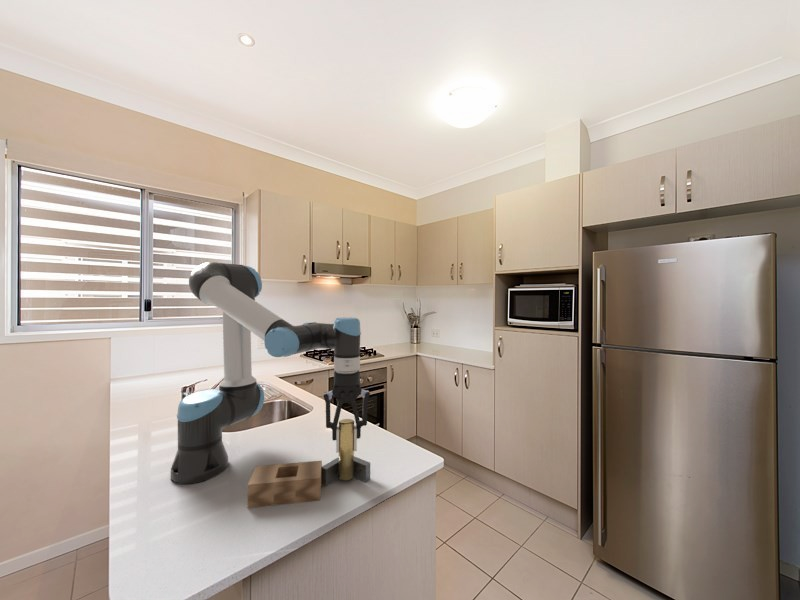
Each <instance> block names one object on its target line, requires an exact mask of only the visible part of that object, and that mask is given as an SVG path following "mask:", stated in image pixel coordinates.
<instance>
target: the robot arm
mask: <svg viewBox="0 0 800 600" xmlns="http://www.w3.org/2000/svg"><path fill="white" fill-rule="evenodd" d="M188 286H189V289H190V291H191V293H192V294H193V295H194V297H196V298H197V299H198V300H199V301H201V302H202V303H203V304H205V305H208V306H209V305H211V306H214V307H216V308H217V309H218V310H220V311H221V312H222V335H223V336H222V339H223V342H222V343H223V380H221V381H220V382H219V384H218V388H219V389H215V388H213V389H212V388H211V389H205V390H198V391H196V392H195V391H194V392H193V393H190V394H188V395H186V396H185V397H183V398H182V399H181V400H180V401H179V403H178V406H177V407H178V408H177V415H176V418H177V451H176V454H175V457H174V460H173V463H172V464H171V468H170V480H171V479H172V480H173V481H174V483H175V482H177V483H176V484H179V483H181V485H189V484H190V485H191V484H196V483H201V482H204V481H208V480H211V479H213V478H215V477H217V476H219V475H220V474H222V473H223V472H224V471H226V469H227V468H228V466H229V455H228V452H227V450H226V448H225V445H224V443H223V429H226V428H227V427H231V426H233V425H234V424H236V423H237V424H238V423H239V422H242V421H245V420H249V419H250V418H251V417H253V416H255V415H257V414H258V413H259V412H260V411H261V410H262V408H263V405H264V402H265V392H264V389H262V386H261V384H259V383H258V382H257V378H256V377H254V376H253V375H252V333H253V334H254V335H255V336H257V337H259V338H260V339H261V340H262V341H263V342H264V348H265V349H266V351H267V353H268V354H269V355H270V356H272V357H273V358H285V357H289V356H293V355H296V354H301V353H305V352H309V351H314V350H318V349H327V350H333V363H334V364H333V370H334V372H333V387H332V390H330V391H324V392H323V396H322V397H323V399H324V401H325V427H326V429H330V430H332V431H331V433H332V437H331V438H332V441H335V443H336V444H335V445H336V446H335V447H336V449H335V451H336V454H339V421H340V420H339V419H340V415H341V412H342V406H343V404H347V403H348V404H351V407H352V413H353V417H354V423H355V424H354V452H357V449H358V448H357V446H358V445H357V444H358V442H357V441H358V440H359V439H361V435H362V433H361V432H362V431H361V429H362V427H364V426H365V427H366V426H367V424H368V405H369V404H368V403H369V402H368V400H369V398H370V395H371V394H370V393H371V392H370V391H369V390H368V389H363V388H362V387H361V373H360V372H361V371H360V369H361V335H362V331H361V321H360V319H358V318H357V317H347V316H346V317H336V318H335V319H334V323H325V322H324V323H323V322H315V321H314V322H305V323H302V324H301V325H292V324H291V323H290V322H288V321H286V320H285V319H283V318H282V317H280V316H279V315H277V314H276V313H274V312H273V311H271V310H270V309H268V308H266V307H265V306H264V305H262V304H261V303H258V301H256V298H257V297H258V296H259V295H260V293H261V292H262V288H263V281H262V278H261V276H260V274H259V272H258V271H257V270H256V269H255V268H253V267H251V266H249V265H244V264H236V263H235V264H233V263H227V262H226V263H223V262H215V261H209V262H204V263H202V264H199V265H197V266H196V267H195V268H193V270H192V271H191V272H190V275H189V278H188ZM360 395H361V397H362V410H361V411H362V412H361V413H362V415H361V416H362V419H361V420H360V415H359V411H358V406H357V402H356V400H357V398H359V396H360ZM333 396H334V398H336V400H337V403H336V409H335V412H334V417H333V421H331V400H332V398H333ZM357 439H358V440H357ZM172 480H171V481H172ZM173 481H172V482H173Z"/></svg>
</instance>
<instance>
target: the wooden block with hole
mask: <svg viewBox="0 0 800 600" xmlns="http://www.w3.org/2000/svg"><path fill="white" fill-rule="evenodd" d="M322 466H323V460H313V461H311V460H310V461H302V462H301V461H300V462H298V461H297V462H288V463H278V464H276V463H275V464H265V465H256V466H255V468H254V470H253V473H252V474H251V476H250V479H249V480H248V483H247V505H246V506H247V509H251V508H259V507H269V506H271V507H272V506H278V505H279V506H280V505H288V504H297V503H298V504H299V503H307V502H315V501H321V494H322V484H321V472H322Z"/></svg>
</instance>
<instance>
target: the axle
mask: <svg viewBox="0 0 800 600" xmlns="http://www.w3.org/2000/svg"><path fill="white" fill-rule="evenodd" d="M354 425H355V419H351V418H343V419H341V420H338V426H339V453H338V457H339V478H338V480H341V481H349V480H351V479H353V478H354V477H353V476H354V457H355V451H354Z"/></svg>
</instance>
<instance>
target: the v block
mask: <svg viewBox="0 0 800 600" xmlns="http://www.w3.org/2000/svg"><path fill="white" fill-rule="evenodd" d="M353 478H355V479H357V480H359V481H361V482H363V483H366V484H367V482H369V481H371V462H370V461H367V460H364V459H362V458H359V457H357V456H354V476H353ZM337 480H339V456H338V457H336V458H334V459H332V460H331V461H329V462H328V463H326V464H324V465H322V472H321V486H324V487H328V486H330V485H331V484H332V483H334V482H335V481H337Z"/></svg>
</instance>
